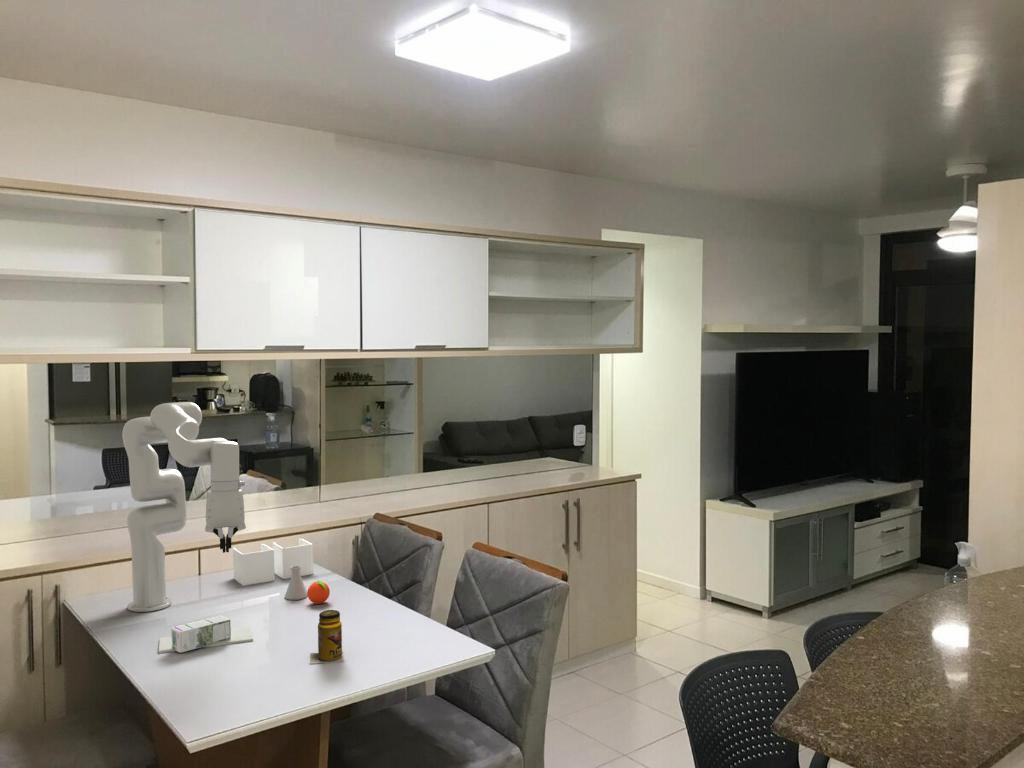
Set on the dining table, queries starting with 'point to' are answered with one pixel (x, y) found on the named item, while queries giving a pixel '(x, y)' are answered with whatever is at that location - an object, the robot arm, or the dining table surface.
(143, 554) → the robot arm
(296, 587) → the flask
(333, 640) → the condiment
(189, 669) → the dining table surface
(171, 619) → the dining table surface
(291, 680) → the dining table surface
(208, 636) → the syrup box
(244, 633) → the mat
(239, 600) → the dining table surface
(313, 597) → the clementine
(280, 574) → the white double bin
